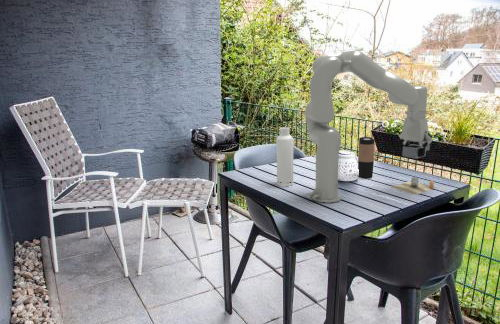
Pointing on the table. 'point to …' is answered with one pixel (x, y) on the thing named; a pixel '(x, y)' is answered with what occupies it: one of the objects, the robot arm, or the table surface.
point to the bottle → (284, 157)
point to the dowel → (431, 184)
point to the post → (414, 182)
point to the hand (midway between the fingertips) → (414, 154)
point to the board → (412, 188)
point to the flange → (413, 151)
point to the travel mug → (366, 157)
